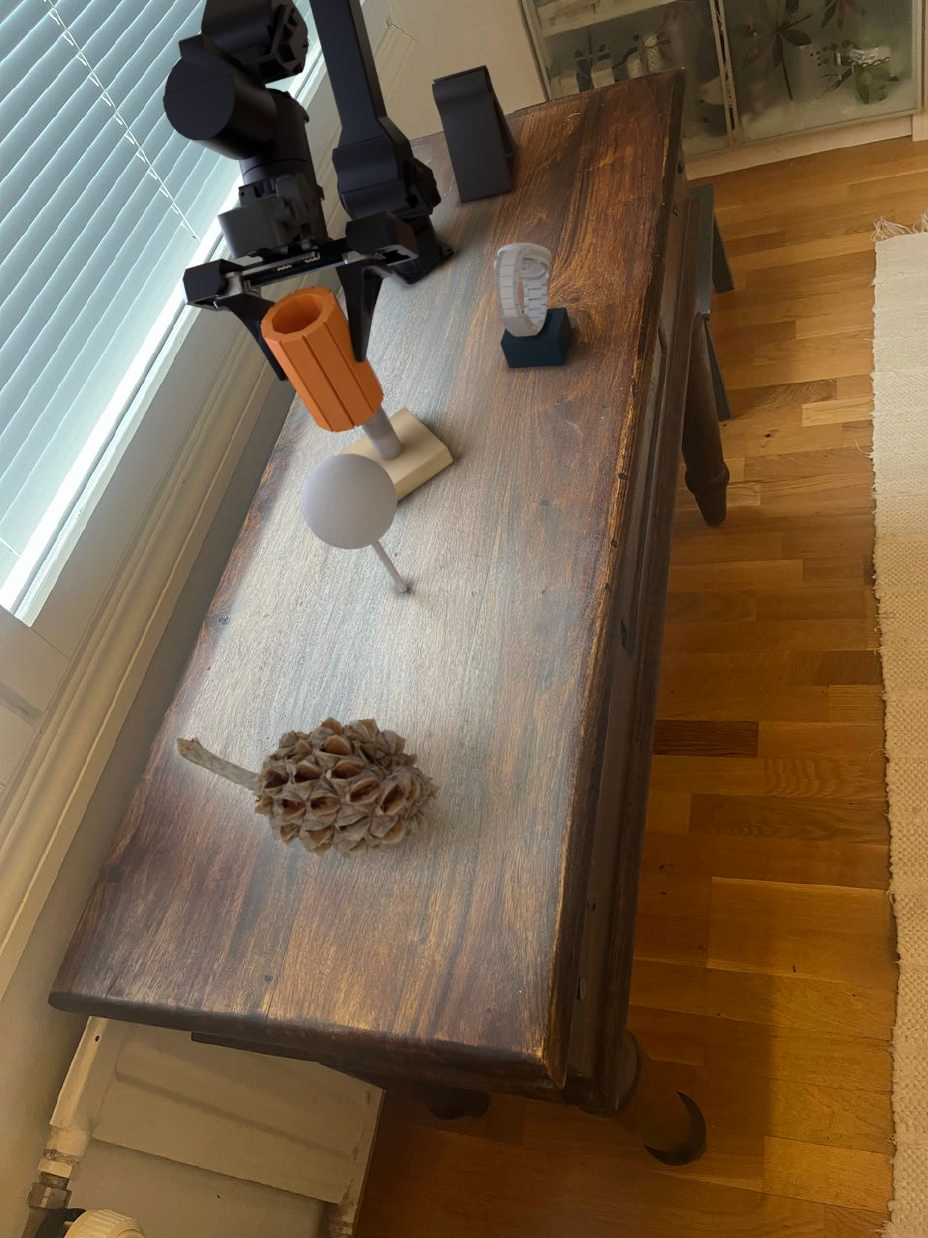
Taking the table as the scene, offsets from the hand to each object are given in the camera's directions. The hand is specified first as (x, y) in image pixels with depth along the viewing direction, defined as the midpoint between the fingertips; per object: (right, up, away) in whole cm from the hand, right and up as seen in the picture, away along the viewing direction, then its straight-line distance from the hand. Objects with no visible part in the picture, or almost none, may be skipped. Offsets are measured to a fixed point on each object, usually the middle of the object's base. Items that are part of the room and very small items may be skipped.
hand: (322, 371), depth 76 cm
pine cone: (+1, -34, -7) cm, 35 cm away
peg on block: (+6, -6, +11) cm, 13 cm away
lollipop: (+7, -18, +2) cm, 19 cm away
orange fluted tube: (+2, -2, +5) cm, 5 cm away
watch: (+19, +6, +14) cm, 24 cm away
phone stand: (+15, +32, +34) cm, 49 cm away
